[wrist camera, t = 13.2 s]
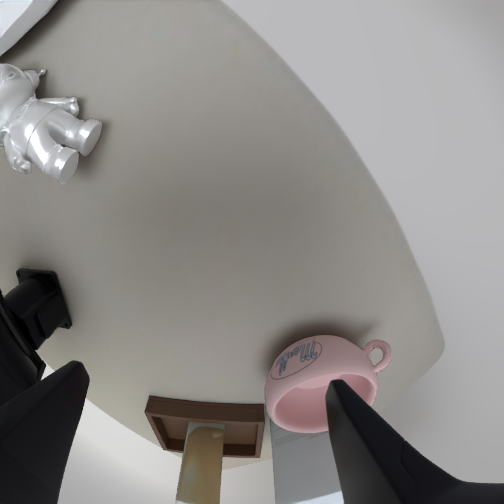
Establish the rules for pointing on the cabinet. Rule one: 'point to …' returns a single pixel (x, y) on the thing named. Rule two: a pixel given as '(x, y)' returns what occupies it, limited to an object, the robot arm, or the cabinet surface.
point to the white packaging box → (304, 468)
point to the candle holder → (20, 19)
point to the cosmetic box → (201, 464)
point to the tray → (232, 415)
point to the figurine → (41, 127)
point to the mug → (319, 379)
